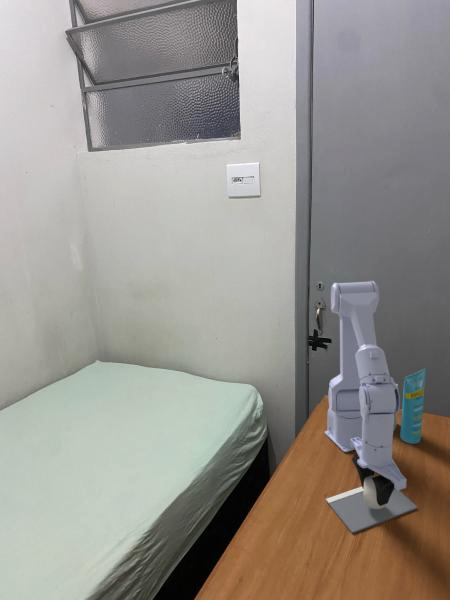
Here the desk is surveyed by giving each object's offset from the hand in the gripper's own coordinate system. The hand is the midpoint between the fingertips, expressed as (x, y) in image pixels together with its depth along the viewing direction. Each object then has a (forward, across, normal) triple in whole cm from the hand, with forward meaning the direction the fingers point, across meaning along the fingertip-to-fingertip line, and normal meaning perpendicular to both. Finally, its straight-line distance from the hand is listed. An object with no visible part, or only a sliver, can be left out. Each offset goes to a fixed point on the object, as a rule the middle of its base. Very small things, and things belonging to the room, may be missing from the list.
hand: (374, 495), depth 85 cm
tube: (+4, -16, +24) cm, 29 cm away
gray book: (+3, -1, 0) cm, 4 cm away
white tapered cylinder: (+1, 0, 0) cm, 1 cm away
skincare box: (+4, -24, +22) cm, 32 cm away
